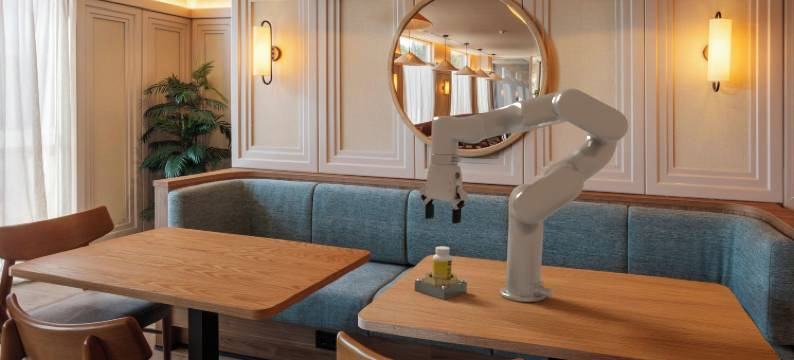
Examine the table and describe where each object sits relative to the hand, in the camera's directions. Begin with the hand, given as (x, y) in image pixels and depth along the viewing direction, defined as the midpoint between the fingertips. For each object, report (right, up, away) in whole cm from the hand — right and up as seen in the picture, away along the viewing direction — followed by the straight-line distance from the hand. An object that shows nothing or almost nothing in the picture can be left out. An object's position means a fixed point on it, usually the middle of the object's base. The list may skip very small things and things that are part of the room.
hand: (442, 220), depth 168 cm
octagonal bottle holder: (0, -20, +2) cm, 21 cm away
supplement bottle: (0, -18, +1) cm, 18 cm away
